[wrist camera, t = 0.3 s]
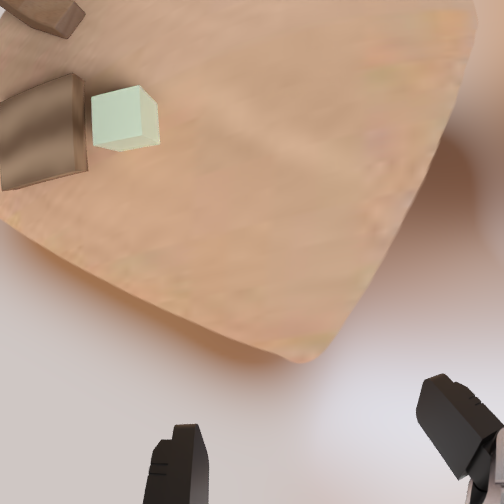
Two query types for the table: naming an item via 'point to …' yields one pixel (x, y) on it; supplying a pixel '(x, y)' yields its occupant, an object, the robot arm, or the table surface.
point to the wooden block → (47, 14)
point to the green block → (125, 119)
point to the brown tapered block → (43, 133)
